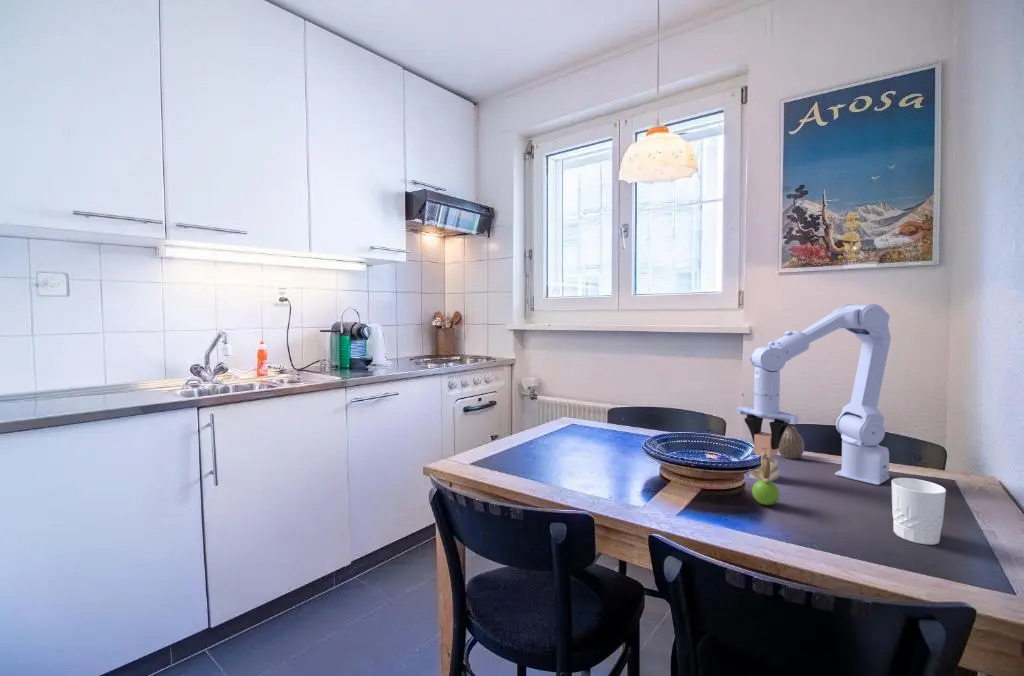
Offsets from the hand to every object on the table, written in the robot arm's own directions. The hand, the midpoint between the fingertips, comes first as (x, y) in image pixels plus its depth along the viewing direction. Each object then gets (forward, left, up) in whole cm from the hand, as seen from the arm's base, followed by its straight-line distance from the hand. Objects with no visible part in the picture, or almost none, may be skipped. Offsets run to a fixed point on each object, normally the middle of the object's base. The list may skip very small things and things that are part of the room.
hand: (765, 446), depth 123 cm
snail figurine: (-8, +16, -8) cm, 20 cm away
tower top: (0, 0, -6) cm, 6 cm away
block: (0, 0, -2) cm, 2 cm away
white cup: (-33, +9, -8) cm, 35 cm away
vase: (+4, -22, -8) cm, 24 cm away
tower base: (0, 0, -8) cm, 9 cm away
